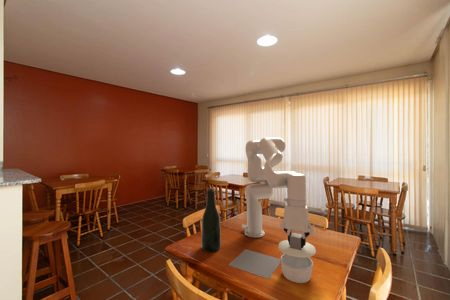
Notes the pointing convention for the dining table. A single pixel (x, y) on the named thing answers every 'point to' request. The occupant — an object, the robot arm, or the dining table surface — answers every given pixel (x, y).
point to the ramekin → (296, 268)
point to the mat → (256, 263)
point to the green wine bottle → (211, 224)
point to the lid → (296, 247)
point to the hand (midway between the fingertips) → (296, 244)
